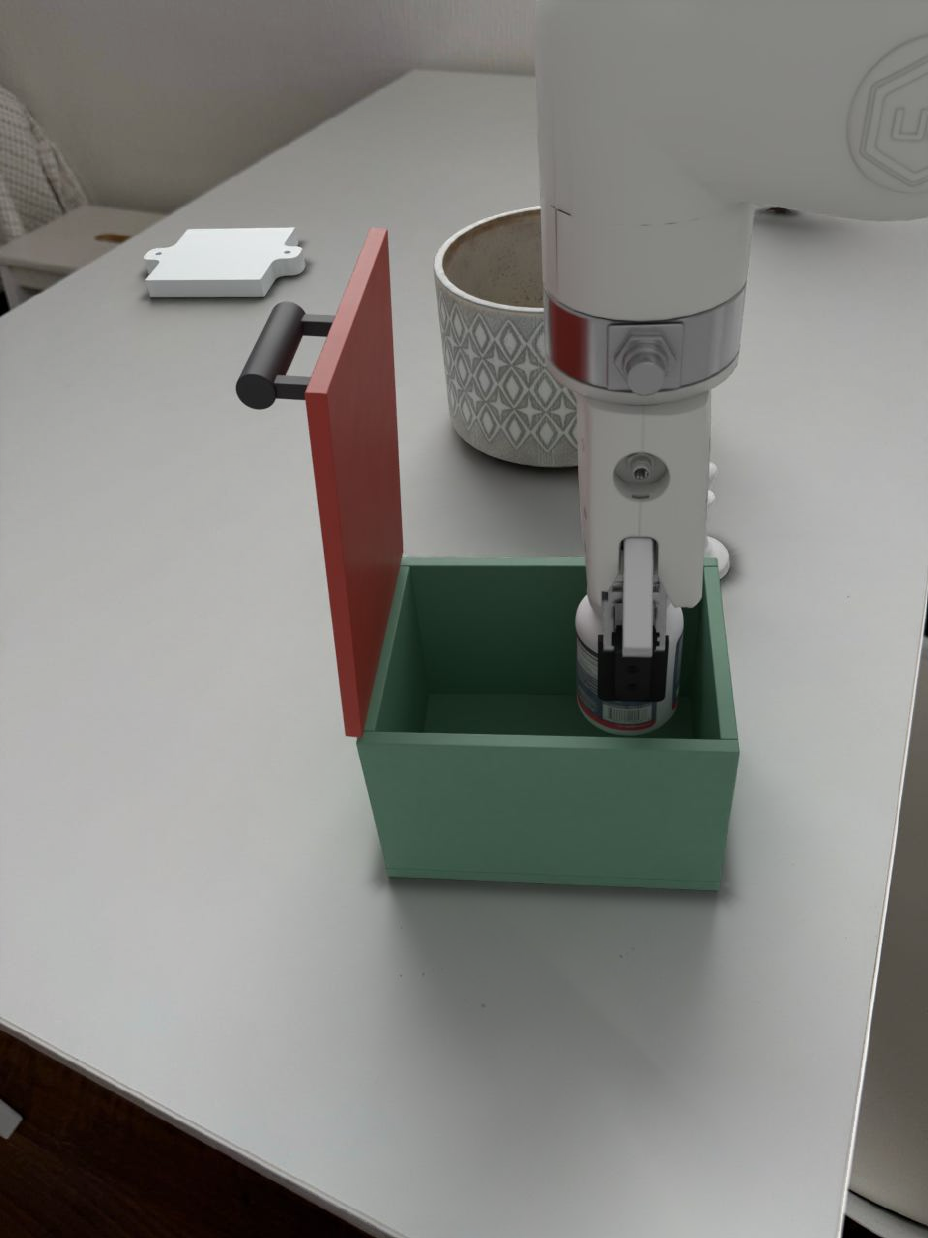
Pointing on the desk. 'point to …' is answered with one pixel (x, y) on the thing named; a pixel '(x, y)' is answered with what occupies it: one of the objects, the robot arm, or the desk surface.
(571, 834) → the box
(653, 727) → the pill bottle
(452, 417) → the planter
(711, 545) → the chess piece
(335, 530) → the lid
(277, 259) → the mounting plate
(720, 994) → the desk surface
